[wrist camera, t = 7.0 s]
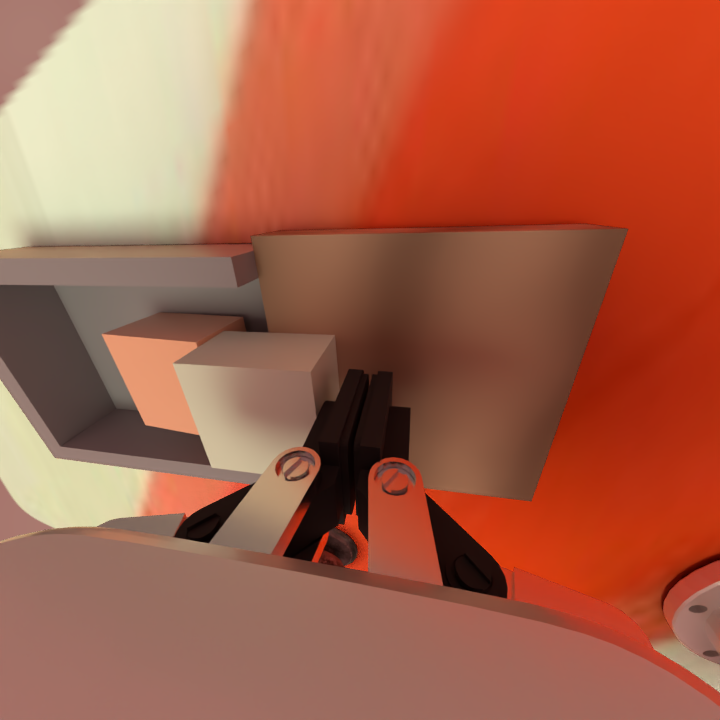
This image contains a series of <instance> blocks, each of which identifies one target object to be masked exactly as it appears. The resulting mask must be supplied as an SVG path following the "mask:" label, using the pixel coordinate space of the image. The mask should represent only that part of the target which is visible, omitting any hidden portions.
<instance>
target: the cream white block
mask: <svg viewBox="0 0 720 720" xmlns="http://www.w3.org/2000/svg"><path fill="white" fill-rule="evenodd" d="M173 366H174V369H175V371H176V374H177V377H178V379H179V382H180V385H181V387H182V390H183V393H184V395H185V398H186V401H187V403H188V406H189V409H190V411H191V414H192V417H193V419H194V422H195V425H196V427H197V430H198V433H199V435H200V438H201V441H202V443H203V446H204V449H205V451H206V454H207V456H208V459H209V462H210V464H211V467H212V468H219V469H226V470H234V471H242V472H249V473H257V474H263V473H264V471H265V470H266V469H267V467H268V466H269V465H270V464H271V462H272V461H273V460H274V459H275V458H276V457H277V456H278V455H279V454H280V453H282V452H283V451H285V450H288V449H290V448H294V447H303V445H304V443H305V441H306V438H307V436H308V434H309V432H310V430H311V428H312V426H313V424H314V422H315V420H316V418H317V416H318V413H319V411H320V409H321V407H322V405H323V403H324V402H325V401H326V400H328V401H335V400H336V398H337V396H338V393H339V391H340V389H339V377H338V365H337V353H336V341H335V335H322V334H294V333H267V332H240V331H222V332H221V333H219V334H218V335H216V336H215V337H213V338H211V339H210V340H208V341H207V342H205V343H204V344H202V345H201V346H199V347H197V348H196V349H194V350H193V351H191V352H190V353H188V354H186V355H185V356H183V357H182V358H180V359H179V360H177V361H176V362H174V363H173Z"/></svg>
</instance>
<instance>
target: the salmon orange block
mask: <svg viewBox="0 0 720 720" xmlns="http://www.w3.org/2000/svg"><path fill="white" fill-rule="evenodd" d="M222 331H240V332H246V327H245V323H244V319H243V317H236V316H219V315H201V314H184V313H166V312H159V313H157V314H154V315H151V316H149V317H146V318H143V319H141V320H138V321H135V322H133V323H130V324H127V325H125V326H122V327H119V328H117V329H114V330H111V331H108V332H106V333H103V334H102V336H103V338H104V340H105V342H106V344H107V347H108V349H109V351H110V353H111V355H112V357H113V359H114V361H115V363H116V365H117V367H118V369H119V371H120V373H121V376H122V378H123V380H124V382H125V384H126V386H127V388H128V390H129V392H130V394H131V396H132V398H133V400H134V403H135V405H136V407H137V409H138V411H139V413H140V415H141V417H142V419H143V421H144V423H145V425H148V426H153V427H159V428H164V429H169V430H175V431H180V432H185V433H191V434H196V435H199V433H198V430H197V427H196V425H195V422H194V419H193V417H192V414H191V411H190V409H189V406H188V403H187V401H186V398H185V395H184V393H183V390H182V387H181V385H180V382H179V379H178V377H177V374H176V371H175V369H174V366H173V363H174V362H176V361H177V360H179V359H180V358H182V357H183V356H185V355H186V354H188V353H190V352H191V351H193V350H194V349H196V348H197V347H199V346H201V345H202V344H204V343H205V342H207V341H208V340H210V339H211V338H213V337H215V336H216V335H218V334H219V333H221V332H222Z"/></svg>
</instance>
